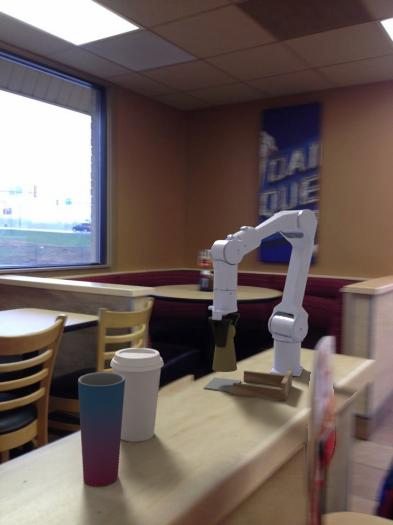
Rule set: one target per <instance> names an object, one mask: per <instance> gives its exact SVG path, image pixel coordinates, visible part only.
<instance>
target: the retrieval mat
mask: <svg viewBox="0 0 393 525" xmlns="http://www.w3.org/2000/svg"><path fill="white" fill-rule="evenodd" d="M241 382H242V380H241V379H233V378H225V377H224V378H223V377H218V376H217V377H215V376H214V377H213V378H212V379H211V380H210V381H209V382H208V383H207V384H206V385H205V386H204V387H203V389H204V390H212V391H219V392H227V393H233V383H241Z"/></svg>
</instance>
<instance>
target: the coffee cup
mask: <svg viewBox="0 0 393 525" xmlns="http://www.w3.org/2000/svg"><path fill="white" fill-rule="evenodd" d="M164 365H165V364H164V360H163V358H162V357H161V355H160V352H159V351H158V350H156V349H153V348H147V347H130V348H123V349H119V350H117V351H115V353H114V356H113V357H112V359H111V361H110V367H111V368H112V371H113V372H112V373H118V374H121V375H123V376H124V377H125V388H124V401H123V414H122V428H121V440H122V441H126V442H129V443H139V442H145V441H148V440H150V439H152V438H153V437H154V435H155V428H156V420H157V418H156V417H157V407H158V398H159V387H160V378H161V369H162V367H164Z"/></svg>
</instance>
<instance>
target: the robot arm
mask: <svg viewBox="0 0 393 525" xmlns="http://www.w3.org/2000/svg"><path fill="white" fill-rule="evenodd" d="M317 226H318V219H317V217H316V215H315V214H314V212H313V211H312V210H311V209H307V208H306V209H300V210H299V209H298V210H297V209H296V210H284V209H283V210H280V211H279V212H276V213H274V214H273V215H272V216H271V217H269V218H268V219H266V220H265V221H263V222H262V223H260V224H259V225H258V226H256V227H253V226H244V225H243V226H242V227H240V230H239V231H237V232H235V233H234V234H228V235H227V236H226V237H227V238H225V239H223V240H222V239H218V240H216V241H215V242H214V243H213V244H212V245H211V248H210V250H209V251H208V256H209V258H210V260H211V262H212V268H213V294H212V295H213V296H212V297H213V300H212V302H213V303H212V305H209V306H208V308H207V309H208V310H210V311H212V312H211V314H212V316H209V317H208V323H209V325H210V327H211V329H212V332H213V337H214V343H215V346H216V347H222V348H225V346H226V343H227V336H228V331H229V328H230V325H233V326H234V327H235V328H236V325H237V322H238V321H239V319H240V316H241V313H238V305H237V304H238V298H237V297H238V264H239V263H241V261H242V260H243V258H244V256H245V255H247V254H249V253H250V252H252V251H254V250H255V249H256V248H259V247H260V246H261V243H262V240H263V239H265V238H268V237H270V236H271V235H273V234H275V233H280V235H282V236H283V238H285V240H286V241H288V242H289V243H290V245H291V246H292V249H291V254H290V260H289V264H288V269H287V274H286V278H285V285H284V288H283V294H282V300H281V302H280V303H279V304H277V305H276V306H274V307H273V311H272V314H271V316H270V317H269V319H268V323H267V326H268V331H269V333H270V334H271V335H272V336H271V338H272V339H273V362H272V363H273V364H272V368H271V369H270V370H269V373H272V374H281V375H286V373H287V371H288V369H290V370H292V377H300V376H301V375H302V372H303V369H304V366H303V365H301V355H302V354H301V351H302V350H301V349H302V342H304V339H305V338H306V336H307V335H308V331H309V330H308V329H309V324H308V319H309V314H308V312H307V311H306V310H305V309H304V307H303V300H304V297H305V290H306V285H307V281H308V276H309V271H310V267H311V266H310V265H311V261H312V256H313V251H314V246H315V238H316V237H315V236H316V233H317V232H316V231H317ZM236 312H237V313H236Z"/></svg>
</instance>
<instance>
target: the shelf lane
mask: <svg viewBox="0 0 393 525" xmlns="http://www.w3.org/2000/svg"><path fill="white" fill-rule="evenodd" d="M243 382H248V383H241V382H240V383H233V392H232V395H233V396H240V397H241V396H242V397H248V398H249V397H250V398H256V399H264V400H271V399H275V400H274V401H279V400H281V401H280V402H286V400H287V398H288V395H289V394H290V391H291V389H292V387H293V376H292V370H290V369H288V371H287V373H286V375H281V374H272V373H270V372H262V371H261V372H260V371H255V370H253V371H251V370H243ZM249 383H255V384H256V383H257V384H263V385H257V384H256V385H255V384H249ZM264 384H265V386H264ZM266 385H272V386H266ZM273 386H280V387H273Z"/></svg>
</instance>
